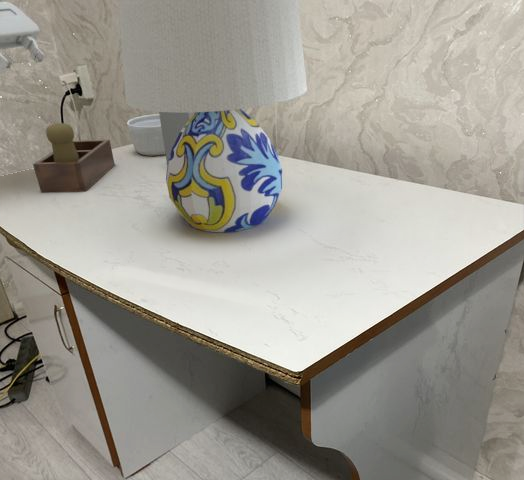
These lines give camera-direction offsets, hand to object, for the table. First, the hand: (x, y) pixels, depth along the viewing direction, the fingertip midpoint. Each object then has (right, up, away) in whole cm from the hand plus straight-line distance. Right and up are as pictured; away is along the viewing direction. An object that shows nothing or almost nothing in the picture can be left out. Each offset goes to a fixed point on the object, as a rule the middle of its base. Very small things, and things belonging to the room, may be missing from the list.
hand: (25, 62), depth 100 cm
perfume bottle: (+28, -12, +20) cm, 36 cm away
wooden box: (+5, -16, +16) cm, 23 cm away
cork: (+5, -18, +12) cm, 22 cm away
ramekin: (+19, -5, +31) cm, 37 cm away
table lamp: (+38, -31, -8) cm, 50 cm away
